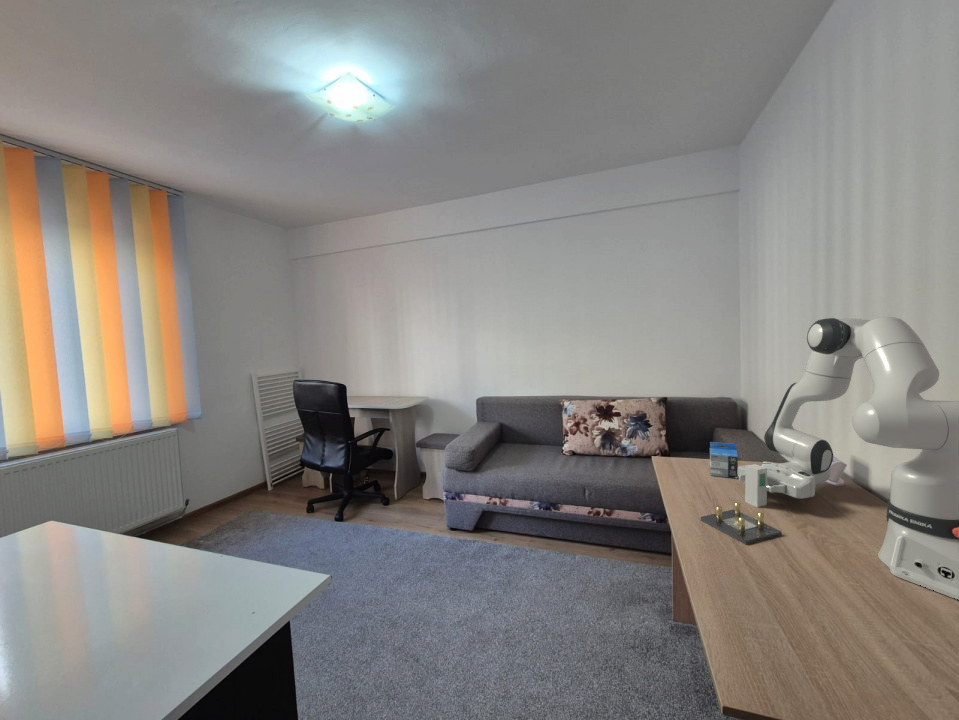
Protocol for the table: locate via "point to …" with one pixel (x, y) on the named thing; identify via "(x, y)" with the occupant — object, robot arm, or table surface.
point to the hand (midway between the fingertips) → (754, 483)
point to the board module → (755, 485)
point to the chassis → (741, 525)
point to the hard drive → (768, 465)
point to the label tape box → (723, 460)
